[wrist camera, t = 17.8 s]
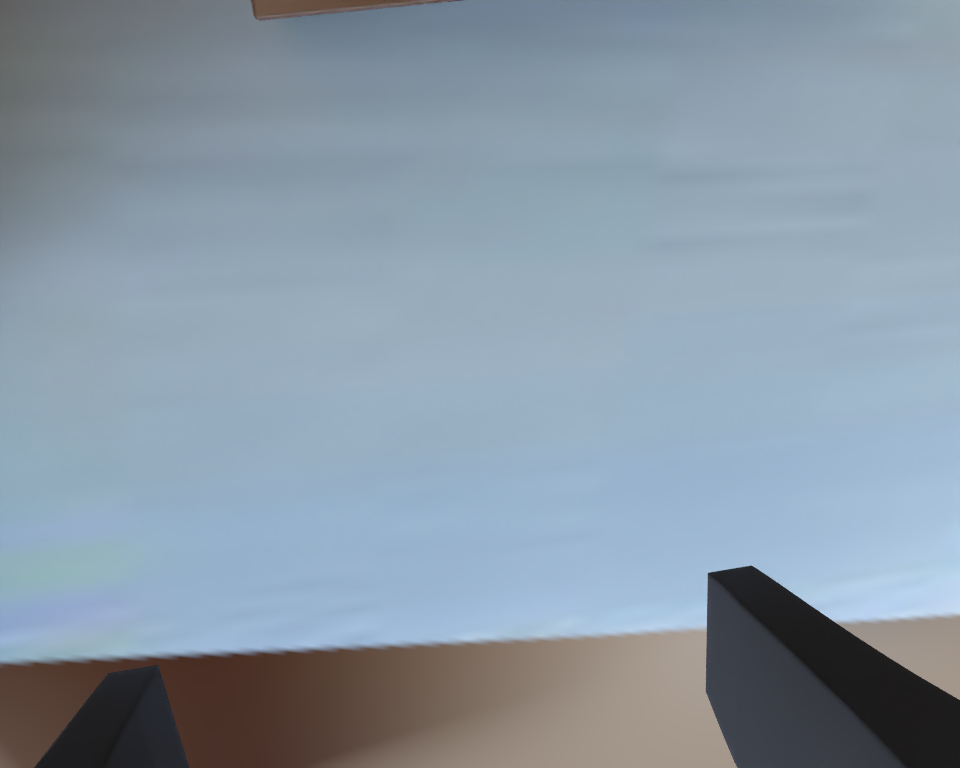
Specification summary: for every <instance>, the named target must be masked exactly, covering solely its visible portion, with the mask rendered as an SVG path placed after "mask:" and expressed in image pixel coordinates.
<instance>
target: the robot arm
mask: <svg viewBox="0 0 960 768" xmlns="http://www.w3.org/2000/svg"><path fill="white" fill-rule="evenodd" d="M706 693H707V695H708V698H709V701H710V703H711V706H712V708H713V711H714V713H715V716H716V718H717V721H718V723H719V726H720V728H721V731H722V733H723V736H724V738H725V740H726V743H727V745H728V748H729V750H730V752H731V755H732V757H733V759H734V762H735V764H736V765H737V767H738V768H960V700H958V699H957V698H955V697H953V696H952V695H950V694H948V693H946V692H945V691H943V690H941V689H940V688H938V687H936V686H934V685H933V684H931V683H929V682H928V681H926V680H924V679H922V678H921V677H919V676H917V675H916V674H914V673H912V672H911V671H909V670H908V669H906V668H904V667H903V666H901V665H900V664H898V663H896V662H895V661H893V660H891V659H890V658H888V657H887V656H885V655H884V654H882V653H880V652H879V651H877V650H876V649H874V648H873V647H871V646H870V645H868V644H867V643H865V642H864V641H862V640H860V639H859V638H857V637H856V636H854V635H853V634H851V633H850V632H848V631H847V630H845V629H844V628H842V627H841V626H839V625H838V624H836V623H835V622H834V621H832V620H831V619H829V618H828V617H826V616H825V615H823V614H822V613H820V612H819V611H818V610H816V609H815V608H813V607H812V606H810V605H809V604H807V603H806V602H804V601H803V600H802V599H800V598H799V597H797V596H796V595H794V594H793V593H791V592H790V591H789V590H787V589H786V588H784V587H783V586H781V585H780V584H778V583H777V582H776V581H774V580H773V579H771V578H770V577H768V576H767V575H765V574H764V573H762V572H761V571H759V570H758V569H756V568H755V567H753V566H747V567H741V568H735V569H729V570H723V571H717V572H711V573H708V600H707V658H706ZM34 768H189V766H188V763H187V760H186V756H185V753H184V750H183V746H182V743H181V740H180V736H179V733H178V730H177V727H176V724H175V720H174V717H173V713H172V710H171V707H170V703H169V700H168V697H167V693H166V690H165V687H164V684H163V680H162V677H161V674H160V671H159V667H158V665H155V666H149V667H143V668H138V669H131V670H125V671H119V672H113V673H109V674H108V675H107V676H106V677H105V679H104V680H103V681H102V682H101V683H100V685H99V686H98V687H97V688H96V689H95V691H94V692H93V693H92V694H91V696H90V697H89V698H88V699H87V701H86V702H85V703H84V705H83V706H82V707H81V708H80V710H79V711H78V712H77V714H76V715H75V716H74V717H73V719H72V720H71V721H70V722H69V724H68V725H67V726H66V728H65V729H64V730H63V731H62V733H61V734H60V735H59V737H58V738H57V739H56V741H55V742H54V743H53V744H52V746H51V747H50V748H49V749H48V751H47V752H46V753H45V754H44V756H43V757H42V758H41V760H40V761H39V762H38V763H37V765H36V766H35V767H34Z"/></svg>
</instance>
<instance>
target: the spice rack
mask: <svg viewBox="0 0 960 768" xmlns="http://www.w3.org/2000/svg"><path fill="white" fill-rule="evenodd" d="M450 1H460V0H251V3H252V8H253V14H254V17H255V18H256V19H257V20H260V21H261V20H271V19H281V18H291V17H301V16H311V15H321V14H331V13H341V12H351V11H361V10H371V9H381V8H391V7H401V6H410V5H420V4H430V3H440V2H450Z"/></svg>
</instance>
